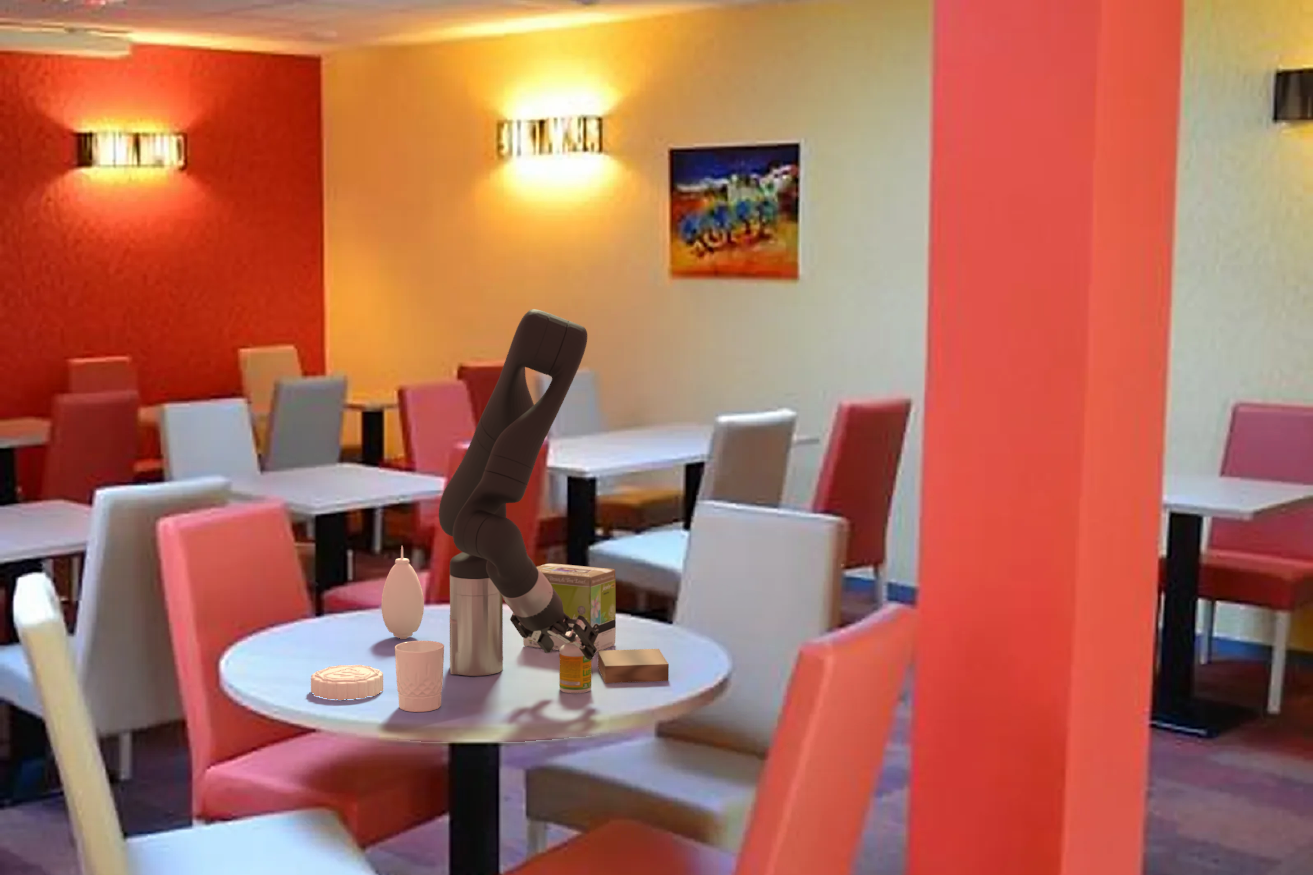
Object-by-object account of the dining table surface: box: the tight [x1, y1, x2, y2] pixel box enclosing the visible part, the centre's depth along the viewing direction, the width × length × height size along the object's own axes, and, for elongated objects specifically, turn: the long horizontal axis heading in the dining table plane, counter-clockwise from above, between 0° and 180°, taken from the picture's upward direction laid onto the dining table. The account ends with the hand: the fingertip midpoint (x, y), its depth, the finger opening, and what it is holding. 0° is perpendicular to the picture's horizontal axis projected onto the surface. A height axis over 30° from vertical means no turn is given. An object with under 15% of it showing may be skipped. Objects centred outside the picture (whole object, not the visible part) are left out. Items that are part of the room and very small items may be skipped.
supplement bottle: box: [558, 631, 592, 694], centre depth 267 cm, size 5×5×10 cm
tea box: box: [522, 562, 617, 653], centre depth 297 cm, size 15×10×15 cm
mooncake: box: [310, 664, 384, 700], centre depth 265 cm, size 12×12×4 cm
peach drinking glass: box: [394, 640, 445, 713], centre depth 256 cm, size 8×8×10 cm
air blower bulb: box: [380, 545, 425, 640], centre depth 302 cm, size 8×8×18 cm
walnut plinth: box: [597, 648, 670, 684], centre depth 278 cm, size 11×11×3 cm
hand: (571, 651), depth 265 cm, fingers open, 8 cm apart
